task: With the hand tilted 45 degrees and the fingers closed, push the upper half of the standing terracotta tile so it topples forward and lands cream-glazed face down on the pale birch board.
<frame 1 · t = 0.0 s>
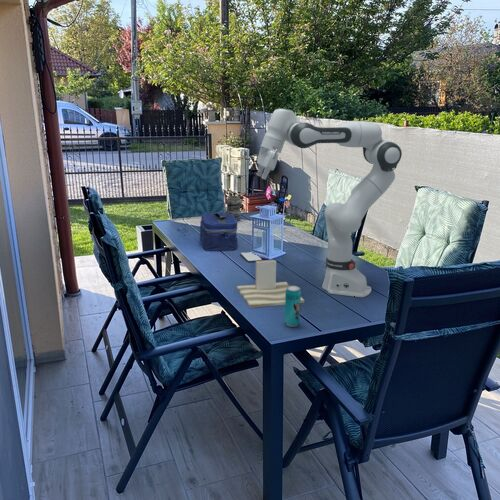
hand: (261, 177, 207), 52 cm above the table, tool tilted 20°, fingers open, 8 cm apart
lunch bag: (218, 245, 297), on the table
tile: (265, 288, 223), point 1 cm above the table, touching board
apothecary jar: (233, 220, 364), on the table
board: (269, 295, 217), on the table
phone case: (250, 259, 272), on the table
beverage can: (291, 324, 188), on the table
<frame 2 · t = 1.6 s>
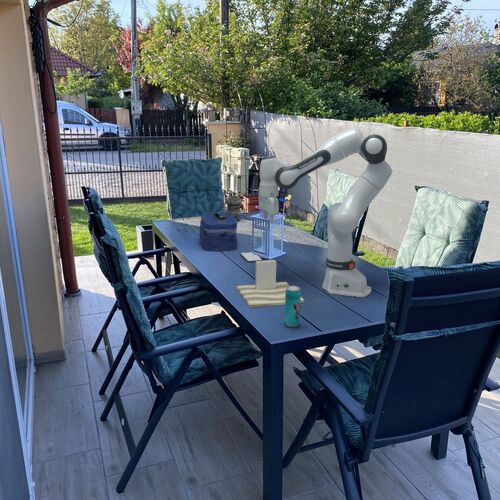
hand: (268, 220, 231), 29 cm above the table, tool pointing down, fingers open, 7 cm apart
nothing on the table moved.
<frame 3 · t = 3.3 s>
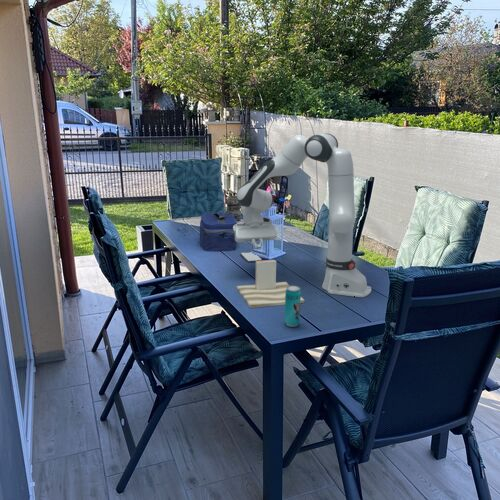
hand: (258, 248, 230), 17 cm above the table, tool tilted 45°, fingers closed
nothing on the table moved.
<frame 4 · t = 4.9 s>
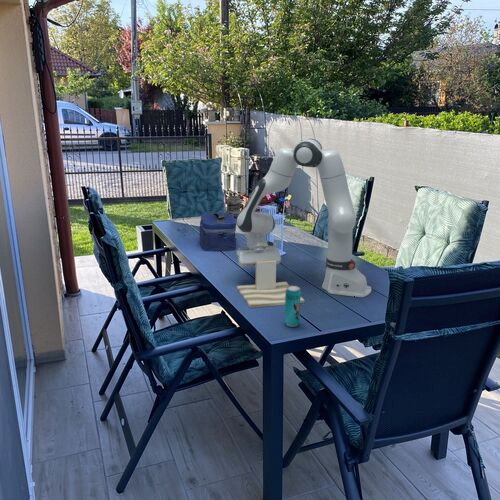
hand: (262, 273, 226), 7 cm above the table, tool tilted 45°, fingers closed
nothing on the table moved.
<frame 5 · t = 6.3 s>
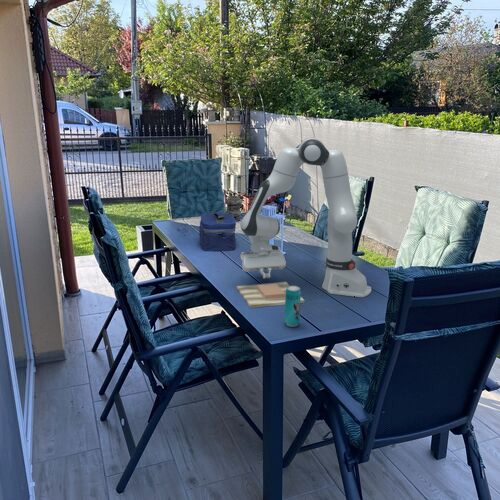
hand: (267, 277, 219), 7 cm above the table, tool tilted 45°, fingers closed
tile: (266, 286, 221), point 2 cm above the table, tilted 90°, touching board
everything else where it was.
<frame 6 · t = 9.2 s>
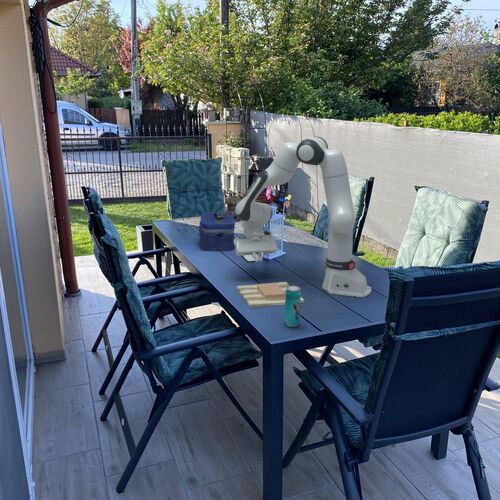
hand: (259, 261, 229), 11 cm above the table, tool tilted 45°, fingers closed
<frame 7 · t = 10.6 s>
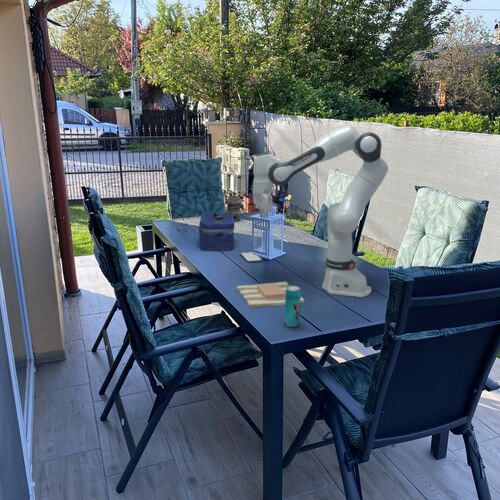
hand: (262, 217, 230), 31 cm above the table, tool pointing down, fingers closed
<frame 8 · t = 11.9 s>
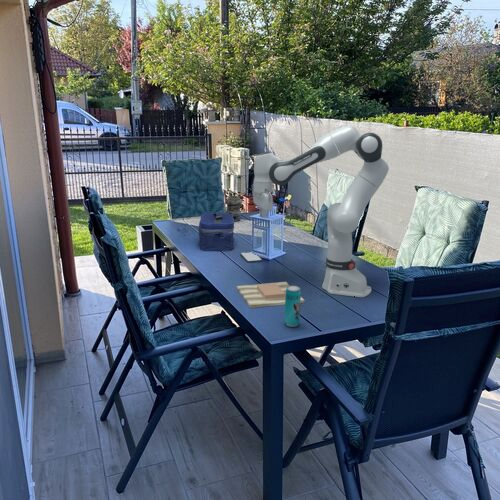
hand: (262, 216, 229), 31 cm above the table, tool pointing down, fingers closed
at the end: tile tilted 90°; tile 4.5 cm from the board (horizontally); tile point 2.4 cm above the table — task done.
